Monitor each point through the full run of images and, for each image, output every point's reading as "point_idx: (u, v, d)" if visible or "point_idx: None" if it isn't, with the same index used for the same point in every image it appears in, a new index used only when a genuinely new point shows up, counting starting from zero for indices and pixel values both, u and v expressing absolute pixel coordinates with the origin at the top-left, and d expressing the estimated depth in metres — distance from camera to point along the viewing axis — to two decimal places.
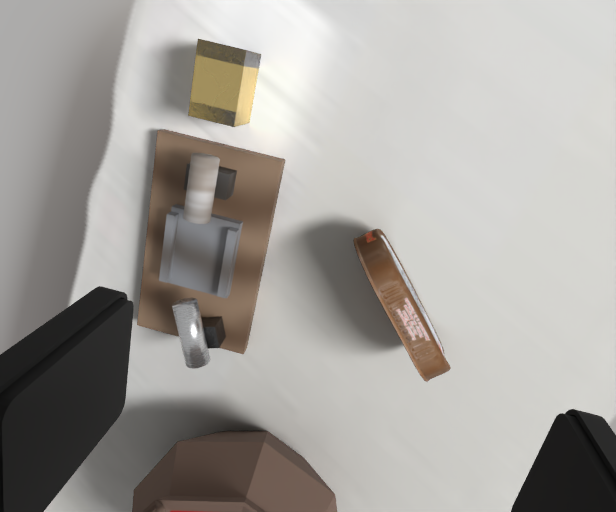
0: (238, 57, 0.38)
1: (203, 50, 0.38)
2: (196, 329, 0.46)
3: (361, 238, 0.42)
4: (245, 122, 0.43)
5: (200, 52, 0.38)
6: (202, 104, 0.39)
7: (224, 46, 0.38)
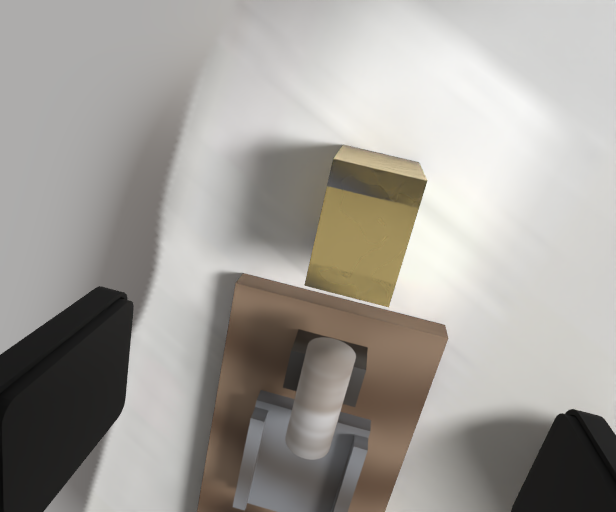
0: (409, 192, 0.20)
1: (342, 179, 0.20)
2: None
3: None
4: None
5: (337, 182, 0.20)
6: (332, 268, 0.22)
7: (384, 173, 0.20)
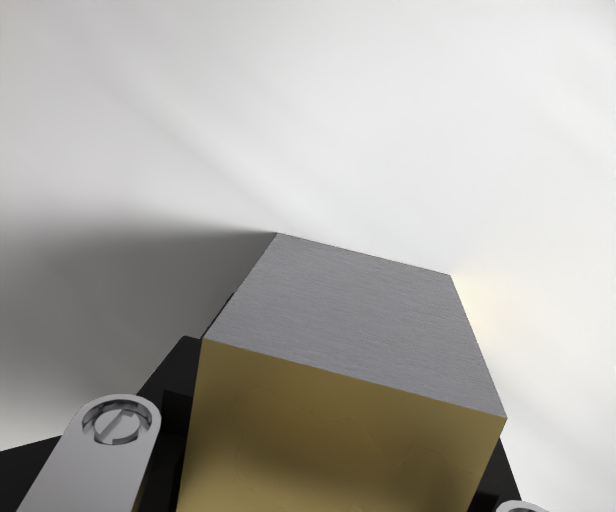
0: (448, 447, 0.06)
1: (235, 396, 0.06)
2: None
3: None
4: None
5: (219, 403, 0.07)
6: None
7: (366, 388, 0.06)
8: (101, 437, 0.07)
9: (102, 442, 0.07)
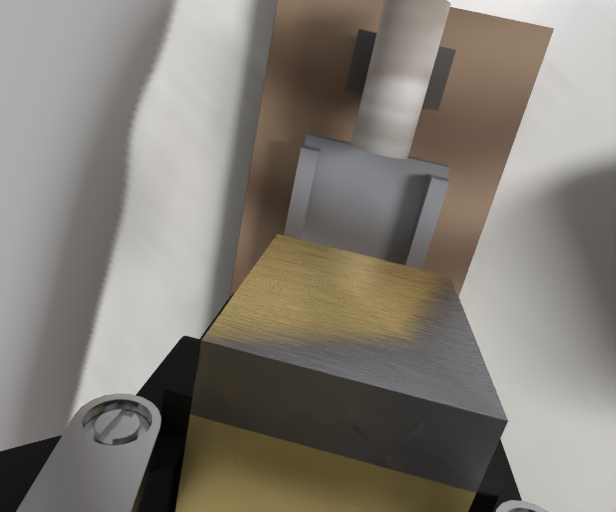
0: (448, 450, 0.06)
1: (234, 399, 0.06)
2: None
3: None
4: None
5: (218, 405, 0.06)
6: None
7: (365, 391, 0.06)
8: (101, 437, 0.07)
9: (102, 442, 0.07)
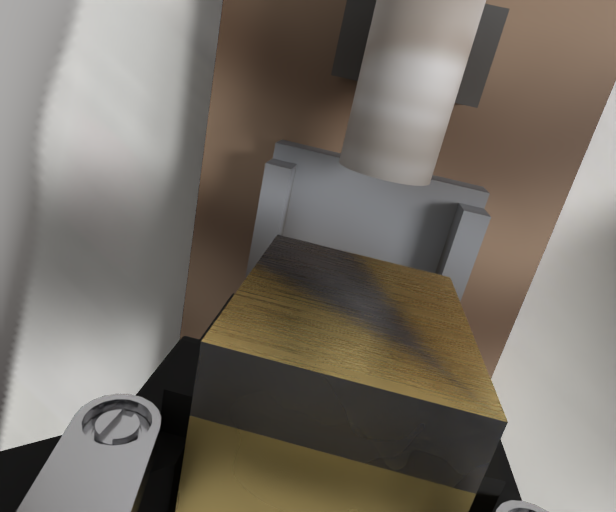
0: (448, 451, 0.06)
1: (233, 400, 0.06)
2: None
3: None
4: None
5: (218, 406, 0.06)
6: None
7: (365, 392, 0.06)
8: (101, 437, 0.07)
9: (102, 442, 0.07)
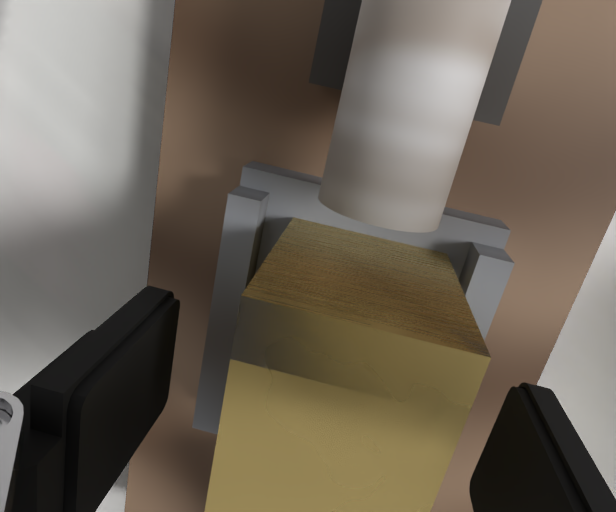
0: (443, 384, 0.08)
1: (267, 344, 0.08)
2: None
3: None
4: None
5: (254, 350, 0.08)
6: None
7: (375, 335, 0.07)
8: None
9: None
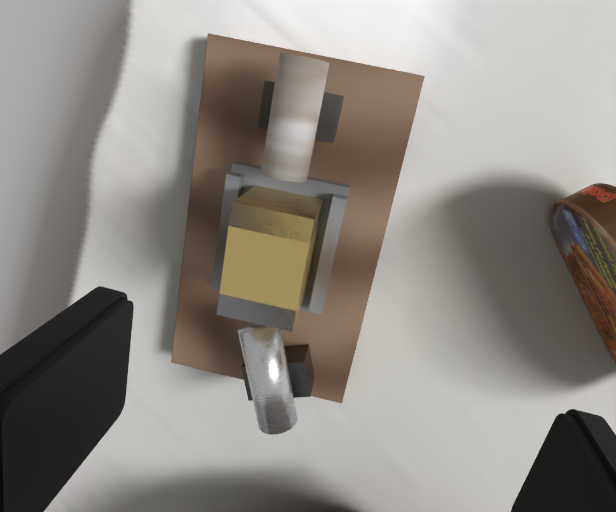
0: (300, 230, 0.23)
1: (241, 219, 0.23)
2: (279, 369, 0.27)
3: (580, 198, 0.24)
4: None
5: (236, 222, 0.23)
6: (239, 299, 0.24)
7: (276, 213, 0.22)
8: None
9: None
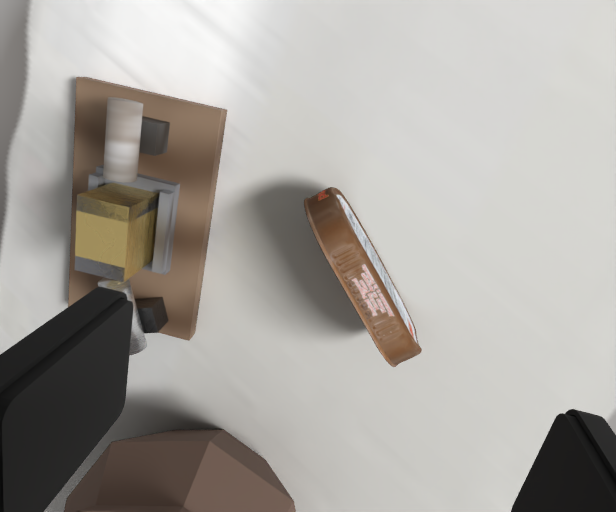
0: (121, 214, 0.35)
1: (83, 206, 0.35)
2: None
3: (313, 197, 0.35)
4: (145, 264, 0.40)
5: (81, 208, 0.35)
6: (88, 259, 0.36)
7: (105, 203, 0.34)
8: None
9: None
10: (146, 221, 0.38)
